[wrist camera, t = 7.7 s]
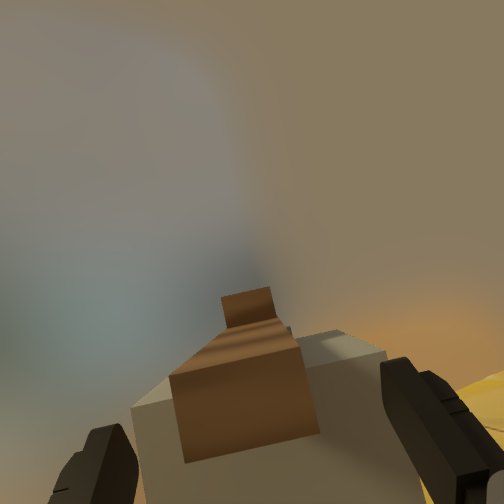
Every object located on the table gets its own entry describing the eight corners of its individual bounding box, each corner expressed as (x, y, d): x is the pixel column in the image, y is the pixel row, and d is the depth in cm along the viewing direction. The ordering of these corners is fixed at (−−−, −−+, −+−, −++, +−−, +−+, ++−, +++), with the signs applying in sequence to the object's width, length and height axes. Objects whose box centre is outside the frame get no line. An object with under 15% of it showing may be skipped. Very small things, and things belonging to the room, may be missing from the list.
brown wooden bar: (320, 433, 10) (281, 267, 11) (184, 463, 10) (153, 296, 11) (282, 343, 31) (269, 287, 32) (237, 353, 31) (225, 297, 32)
